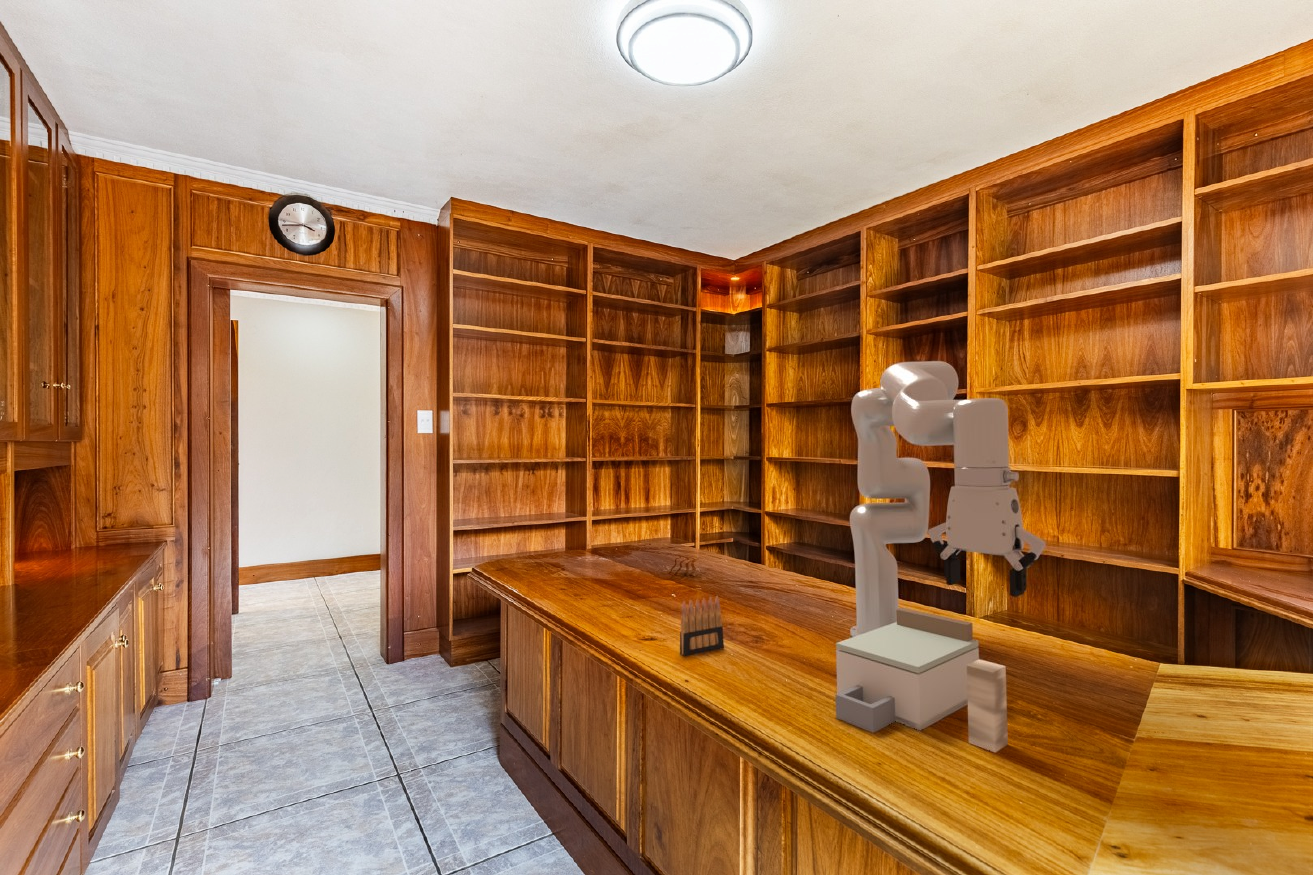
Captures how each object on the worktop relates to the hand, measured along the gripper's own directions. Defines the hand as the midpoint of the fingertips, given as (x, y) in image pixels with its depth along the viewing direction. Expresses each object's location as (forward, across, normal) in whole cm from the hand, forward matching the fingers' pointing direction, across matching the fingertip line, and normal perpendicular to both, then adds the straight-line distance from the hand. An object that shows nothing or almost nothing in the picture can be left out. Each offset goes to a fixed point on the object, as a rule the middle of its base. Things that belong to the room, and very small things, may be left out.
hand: (984, 589), depth 97 cm
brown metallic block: (+24, 0, 0) cm, 24 cm away
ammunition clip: (+24, +61, +5) cm, 66 cm away
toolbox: (+24, +17, -3) cm, 29 cm away
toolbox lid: (+15, +17, -6) cm, 23 cm away
